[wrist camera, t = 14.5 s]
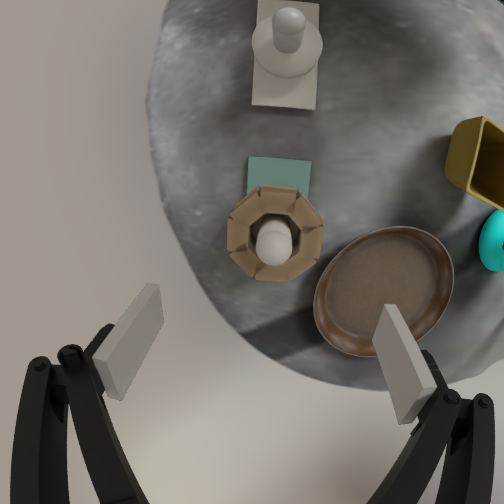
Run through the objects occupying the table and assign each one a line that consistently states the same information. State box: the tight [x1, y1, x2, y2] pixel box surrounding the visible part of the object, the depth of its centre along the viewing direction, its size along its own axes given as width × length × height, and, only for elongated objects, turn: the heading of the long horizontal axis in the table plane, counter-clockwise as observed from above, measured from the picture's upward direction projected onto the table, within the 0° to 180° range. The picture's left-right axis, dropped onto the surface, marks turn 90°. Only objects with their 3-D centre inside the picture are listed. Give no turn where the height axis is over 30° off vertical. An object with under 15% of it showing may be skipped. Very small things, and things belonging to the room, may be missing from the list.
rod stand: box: [252, 0, 323, 110], centre depth 22 cm, size 14×7×11 cm, turn 177°
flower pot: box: [444, 116, 504, 212], centre depth 25 cm, size 9×9×9 cm
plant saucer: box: [313, 226, 454, 357], centre depth 36 cm, size 21×21×3 cm
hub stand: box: [247, 156, 311, 266], centre depth 30 cm, size 14×7×12 cm, turn 177°
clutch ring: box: [227, 184, 324, 283], centre depth 29 cm, size 9×9×4 cm
